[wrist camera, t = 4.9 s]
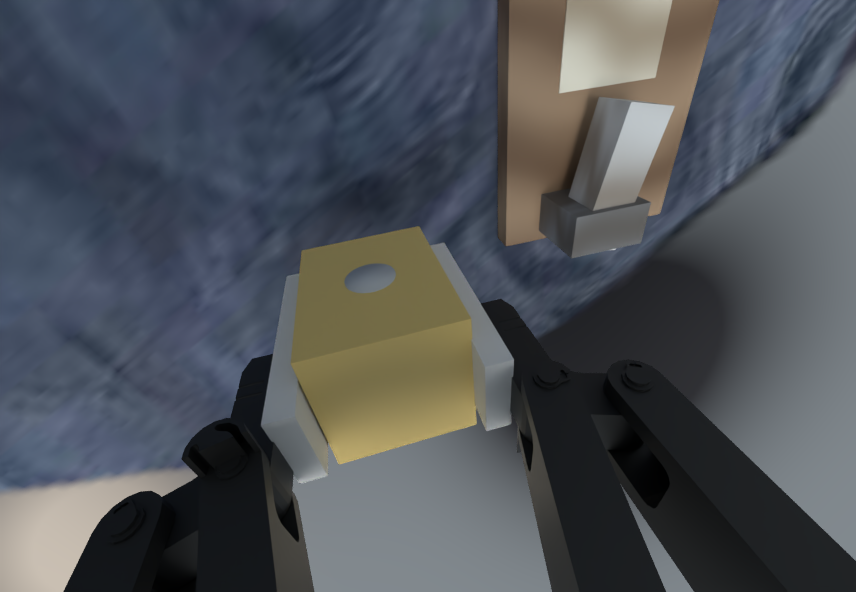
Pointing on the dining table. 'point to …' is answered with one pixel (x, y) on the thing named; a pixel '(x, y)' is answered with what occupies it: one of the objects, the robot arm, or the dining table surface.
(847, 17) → the dining table surface
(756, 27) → the dining table surface
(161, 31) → the dining table surface
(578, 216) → the brown wooden base
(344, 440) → the block
